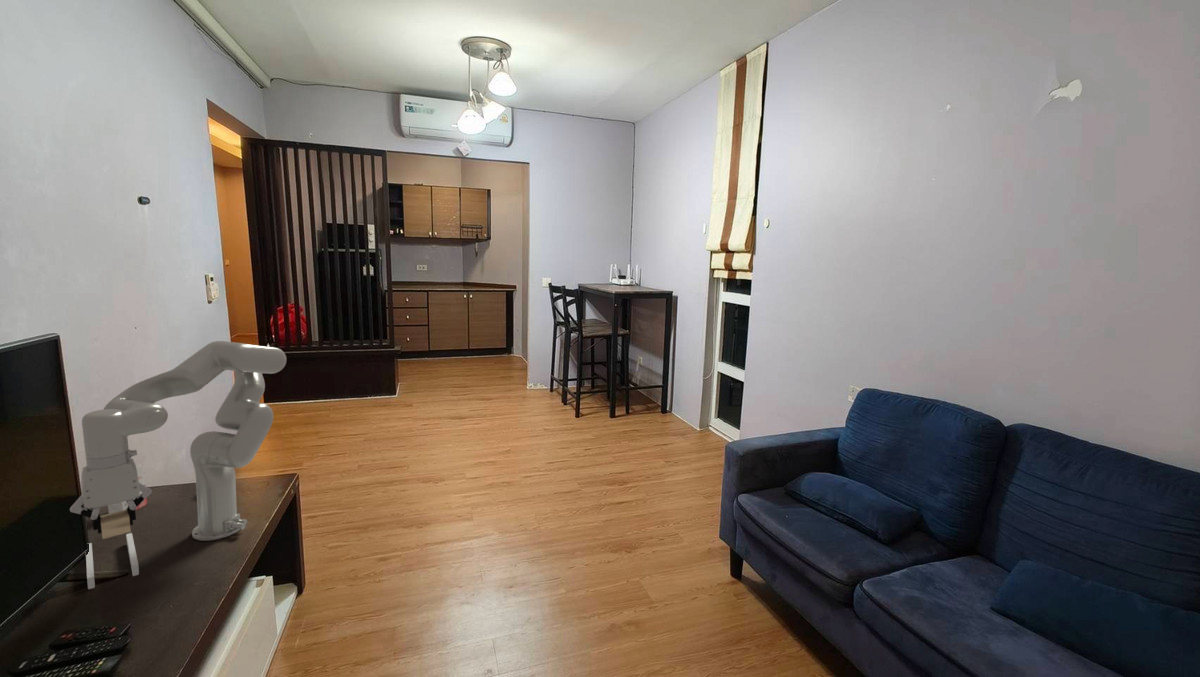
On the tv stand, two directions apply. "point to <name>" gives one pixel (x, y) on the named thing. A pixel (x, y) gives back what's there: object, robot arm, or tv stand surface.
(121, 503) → the ink cartridge box
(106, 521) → the maple block
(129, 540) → the frosted channel
